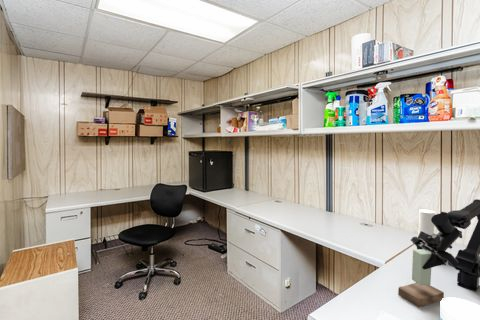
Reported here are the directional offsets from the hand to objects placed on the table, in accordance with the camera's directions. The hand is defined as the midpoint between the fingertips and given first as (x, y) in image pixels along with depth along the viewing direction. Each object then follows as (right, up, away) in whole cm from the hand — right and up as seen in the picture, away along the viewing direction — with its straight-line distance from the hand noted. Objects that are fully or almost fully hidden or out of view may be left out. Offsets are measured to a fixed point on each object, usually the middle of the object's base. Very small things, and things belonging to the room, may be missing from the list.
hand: (418, 265), depth 107 cm
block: (+1, -7, +1) cm, 7 cm away
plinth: (+2, -13, +1) cm, 13 cm away
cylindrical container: (+31, -10, +40) cm, 51 cm away
